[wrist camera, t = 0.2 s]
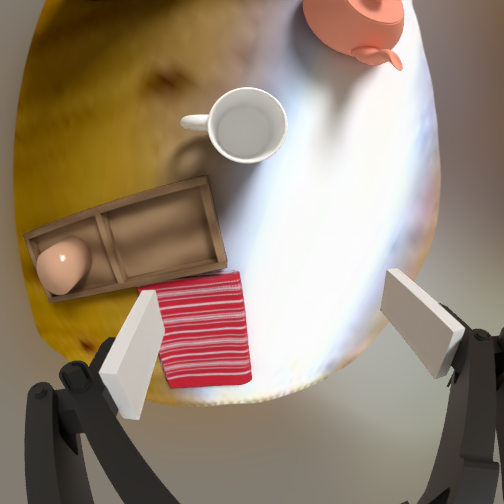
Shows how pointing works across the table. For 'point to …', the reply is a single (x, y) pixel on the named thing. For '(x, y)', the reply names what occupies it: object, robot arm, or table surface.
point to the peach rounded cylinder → (64, 264)
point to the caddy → (140, 238)
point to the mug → (243, 125)
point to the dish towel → (203, 330)
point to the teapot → (358, 27)
